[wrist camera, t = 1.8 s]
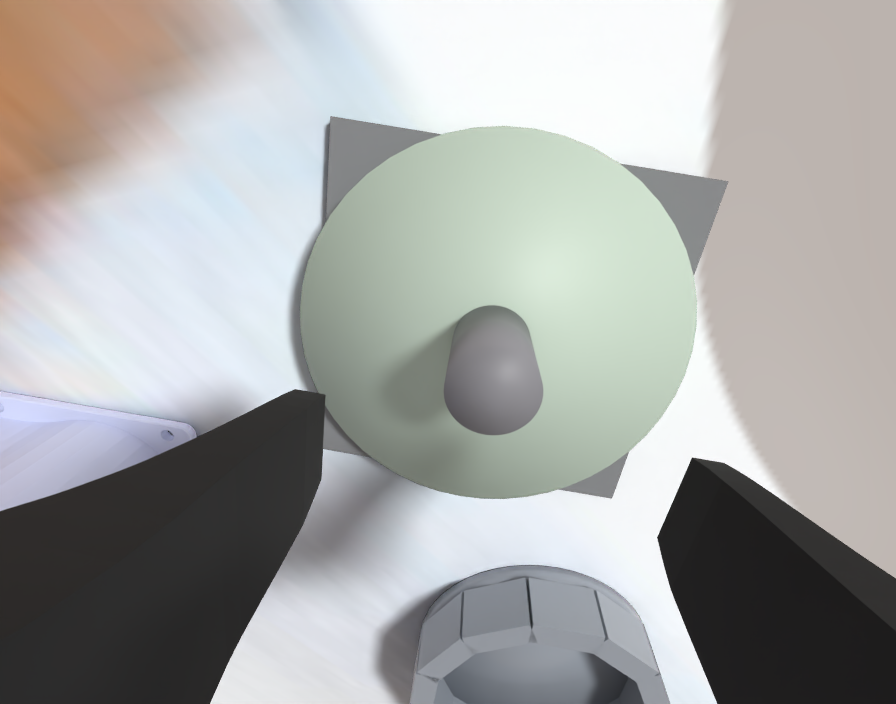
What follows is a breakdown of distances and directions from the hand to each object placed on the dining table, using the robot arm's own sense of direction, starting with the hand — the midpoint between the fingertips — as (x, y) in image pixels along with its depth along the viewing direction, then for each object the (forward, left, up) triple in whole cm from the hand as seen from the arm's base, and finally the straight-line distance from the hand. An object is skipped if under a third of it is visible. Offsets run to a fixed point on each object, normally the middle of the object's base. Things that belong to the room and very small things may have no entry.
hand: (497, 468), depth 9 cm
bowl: (+5, -16, -8) cm, 19 cm away
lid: (0, 0, -8) cm, 8 cm away
